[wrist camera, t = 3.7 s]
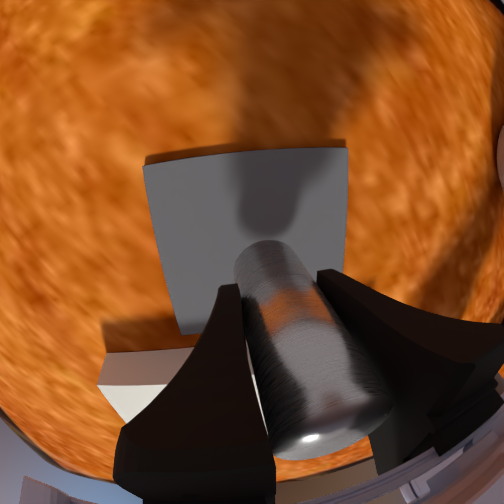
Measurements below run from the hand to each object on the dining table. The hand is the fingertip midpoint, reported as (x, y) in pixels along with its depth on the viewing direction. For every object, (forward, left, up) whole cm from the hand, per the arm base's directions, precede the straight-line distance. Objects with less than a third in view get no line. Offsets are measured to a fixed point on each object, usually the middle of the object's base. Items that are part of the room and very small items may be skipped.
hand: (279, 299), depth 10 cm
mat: (0, 0, -5) cm, 5 cm away
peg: (0, 0, -2) cm, 2 cm away
